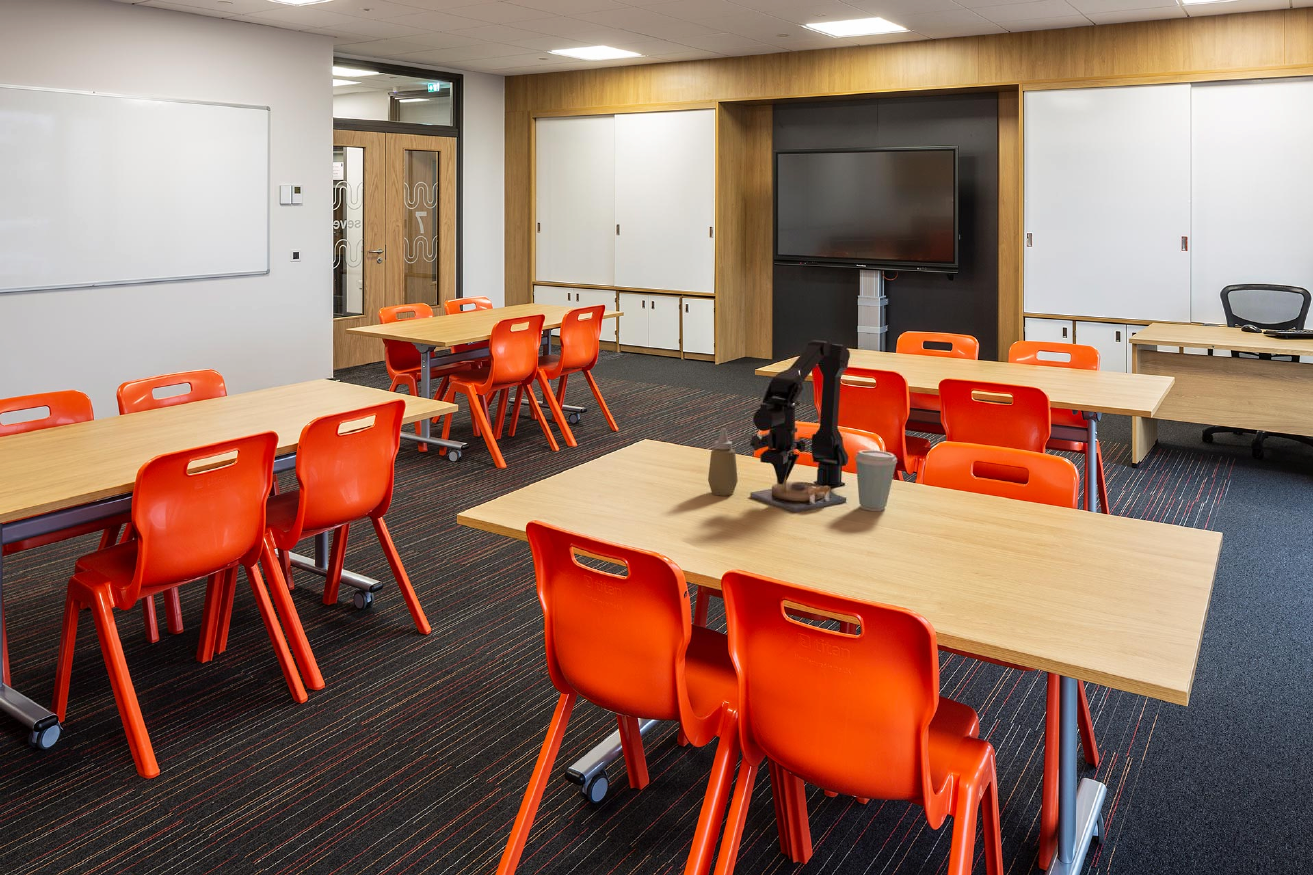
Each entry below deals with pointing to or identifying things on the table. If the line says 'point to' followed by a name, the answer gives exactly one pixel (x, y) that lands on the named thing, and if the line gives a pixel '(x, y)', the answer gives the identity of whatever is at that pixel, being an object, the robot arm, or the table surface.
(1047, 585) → the table surface
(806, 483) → the cam dial
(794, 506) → the level stand
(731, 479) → the squeeze bottle
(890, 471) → the disposable coffee cup
